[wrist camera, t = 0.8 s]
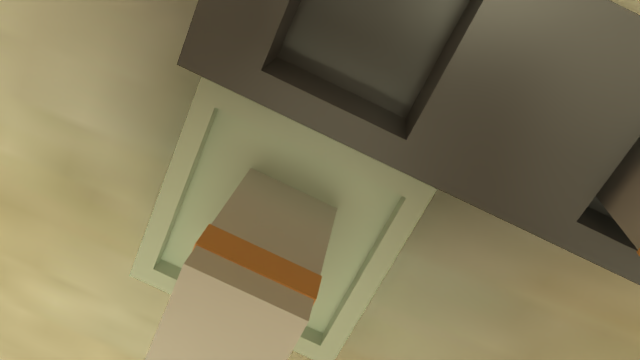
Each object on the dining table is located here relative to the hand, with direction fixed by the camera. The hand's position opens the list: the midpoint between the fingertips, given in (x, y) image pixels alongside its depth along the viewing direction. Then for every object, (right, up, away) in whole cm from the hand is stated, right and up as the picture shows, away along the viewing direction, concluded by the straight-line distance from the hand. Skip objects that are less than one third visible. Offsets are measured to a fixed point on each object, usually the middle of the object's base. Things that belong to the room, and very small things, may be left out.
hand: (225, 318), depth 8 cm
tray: (0, 0, +15) cm, 15 cm away
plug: (0, 0, +14) cm, 14 cm away
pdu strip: (+8, +5, +11) cm, 15 cm away
